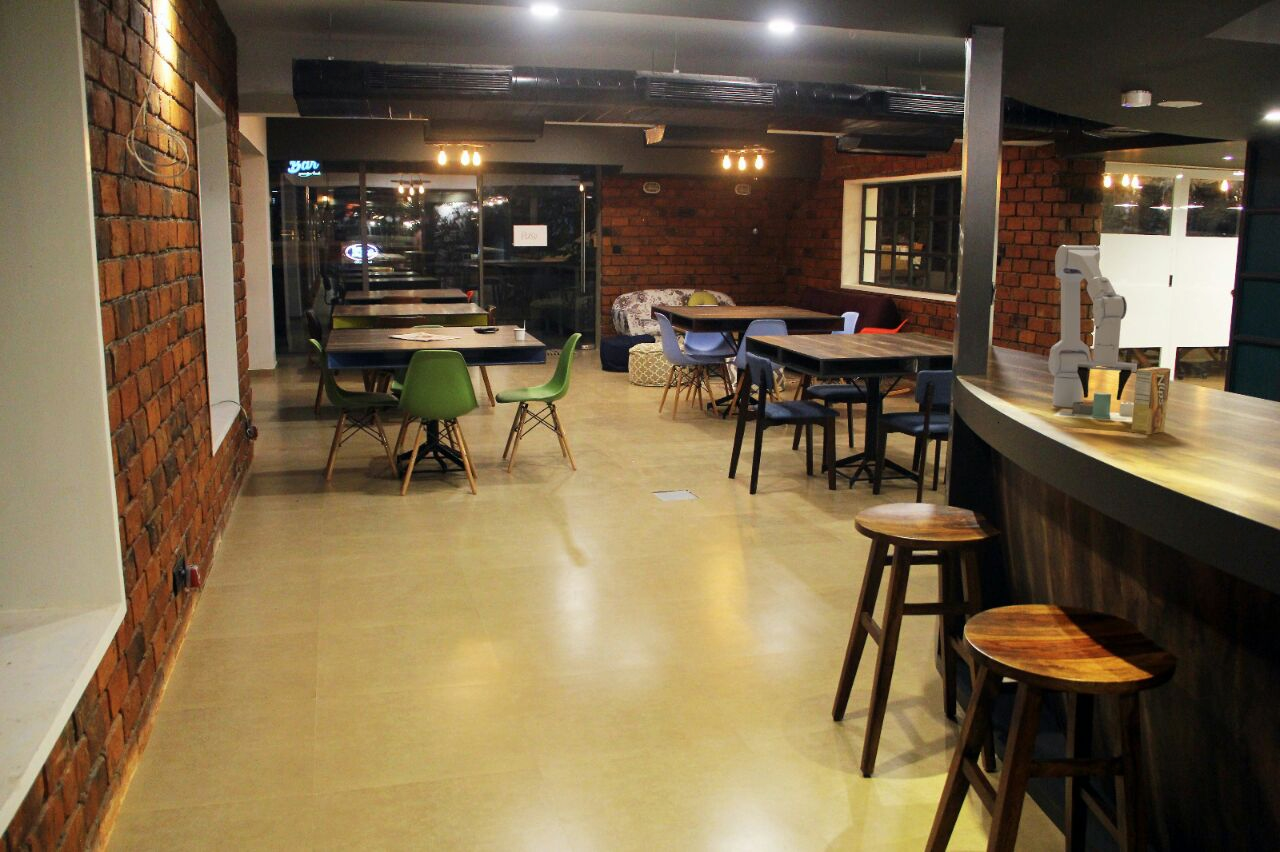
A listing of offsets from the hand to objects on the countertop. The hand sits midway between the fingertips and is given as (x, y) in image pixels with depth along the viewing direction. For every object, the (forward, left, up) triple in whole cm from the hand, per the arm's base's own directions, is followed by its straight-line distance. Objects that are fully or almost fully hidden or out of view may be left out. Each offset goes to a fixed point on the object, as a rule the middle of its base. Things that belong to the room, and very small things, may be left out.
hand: (1102, 398), depth 272 cm
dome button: (-6, -3, -4) cm, 8 cm away
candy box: (+12, +12, -6) cm, 18 cm away
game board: (-4, 0, -6) cm, 7 cm away
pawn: (0, 0, -5) cm, 5 cm away
